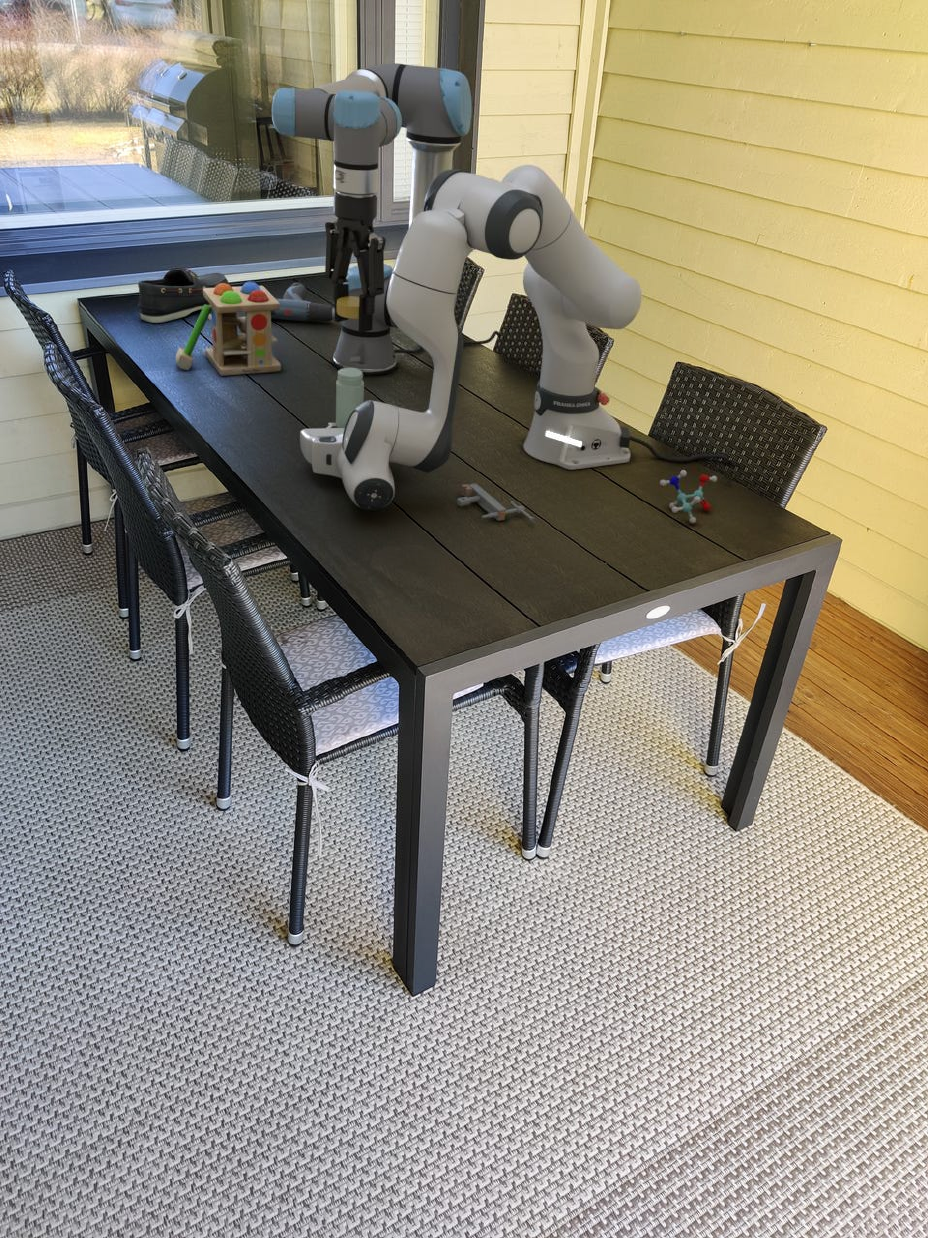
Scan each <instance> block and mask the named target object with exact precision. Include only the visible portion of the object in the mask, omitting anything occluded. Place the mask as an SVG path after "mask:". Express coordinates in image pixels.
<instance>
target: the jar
mask: <svg viewBox="0 0 928 1238" xmlns="http://www.w3.org/2000/svg"><path fill="white" fill-rule="evenodd" d="M363 377H364V375H363V373H362V371H360V370H358V369H355V368H344V369H338V371H337V379H336V384H335V385H336V388H335V391H336V392H335V423H336V424H337V428H345V426H346V423H347V420H348V418H349V416H350V414H351V413H352V412H353V411H354V410H355V409H356V408H357V407H358V406H360V405H361V404H362V403H364V402H365V400H364V396H365V391H364V390H365V382H364V381H363Z"/></svg>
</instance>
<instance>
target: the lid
mask: <svg viewBox="0 0 928 1238" xmlns="http://www.w3.org/2000/svg"><path fill="white" fill-rule="evenodd" d="M337 314H338V315H340V316H342V317H345V318H352V319H359V297H355V296H348V297H341V298H339V299H338V300H337Z"/></svg>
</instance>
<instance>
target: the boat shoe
mask: <svg viewBox="0 0 928 1238" xmlns="http://www.w3.org/2000/svg"><path fill="white" fill-rule="evenodd" d="M221 283H226V284H228V285H230V282H229V280H228V279H227V277H226V276H225V274H223V273H220V272H211V273H205V274H201V275H198V274H197V273H195V272H194V271H192V270H190V269H189V268H182V267H180V266H176V267H173V268H171V269H170V270H168V271H167V272H166V273H165V274H164V276H163V277H162V278H158V279H143V280H139V281H138V282H137V285H138V286H137V287H138V293H139V294H138V295H139V296H138V301H139V302H138V303H137V307H139V308H140V319H141V320H143V321H145V322H148V323H152V324H158V323H160V324H161V323H166V322H170V321H173V320H177V319H181V318H184V317H187V316H188V315H190V314H191V313H193V312H196V311H199V310H202V309H203V307H204V305H208V306H210V307H211V305H210V304H209V302H208V301H207V300H206V299H205V297H204V296H203V289H204V288H215V287H216V286H217V285H218V284H221Z"/></svg>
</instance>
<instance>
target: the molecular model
mask: <svg viewBox="0 0 928 1238" xmlns="http://www.w3.org/2000/svg"><path fill="white" fill-rule="evenodd" d="M686 476H687V471H686V470H685V469H682V470H681V471H680V472H679V474H678V475H677V476H671V477H670V478H669V480H666V479H661V480H660V481H659V485H660V486H661V487H665V486H667V485H669V484H670V485H671V486H674V487H675V491H676V492H677V494H678V495H677V496H676V500H675V501H673V502H670V503H669V504H668V507H669V509H671V512H672V513H673V514H677V513H678V512H680V511H683V512H684V513H686V514H687V516H688V517H689V519H688V520H689V523H690V524H696V522H697V518H696V517H695V516H693V513H692V510H693V506H695V504H699V503H700V505H701V508H702V510H703V511H704V512H709V511H711V507H712V506H711V504H710V503H708V502H707V501H706V499H705V497H704V492H703V487H704V484H706V483H707V482H708V481H711V483H716V482H717V481H718V477H717V476H716V475H711V476H708V475H707V474H703V473H702V474H701V475H699V478H698V479H699V482H700V483H699V486H698V489H696V490H695V491H694V492H693V493H692V494H686V493H685V492H682V491H681V488H680V487H679V486H680V485H678V484H679V483H680V479H681V478H683V477H684V478H685V477H686ZM692 498H693V500H692V501H691V502H687V500H688V499H692ZM679 503H680V504H681V503H682V505H681V506H679V507H678V506H676V505H677V504H679Z"/></svg>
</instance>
